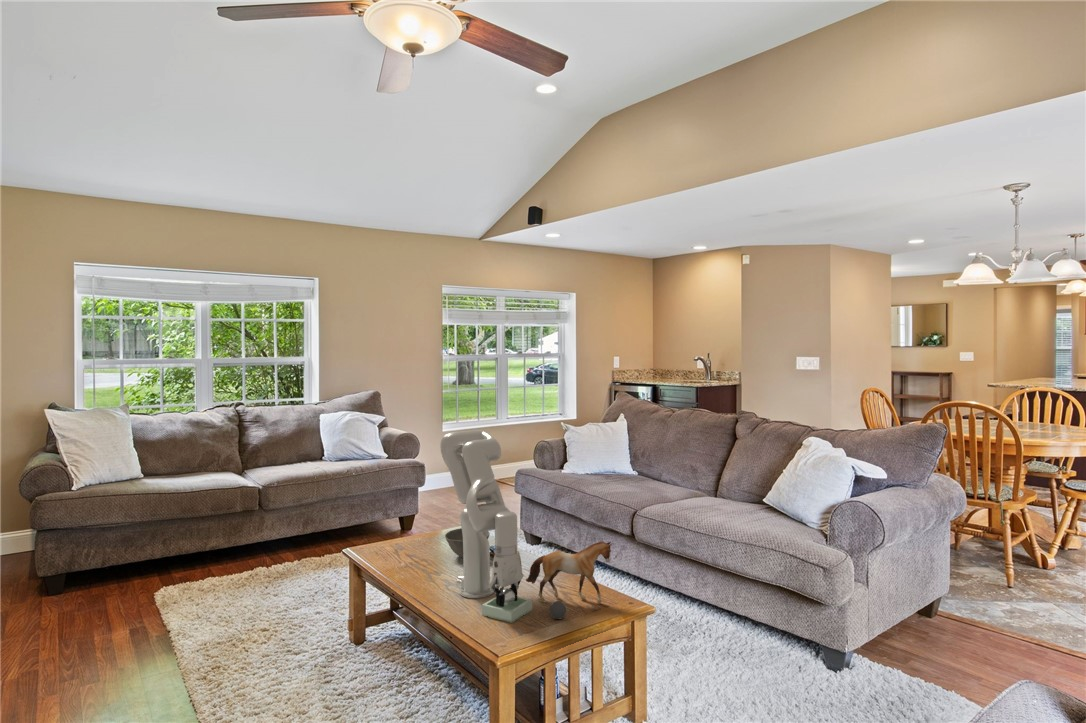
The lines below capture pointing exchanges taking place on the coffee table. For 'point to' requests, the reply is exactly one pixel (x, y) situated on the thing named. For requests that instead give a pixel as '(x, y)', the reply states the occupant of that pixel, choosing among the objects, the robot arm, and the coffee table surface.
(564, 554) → the horse figurine
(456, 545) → the bowl
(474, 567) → the robot arm
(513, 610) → the tray
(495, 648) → the coffee table surface
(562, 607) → the rubber ball
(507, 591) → the steel ball
